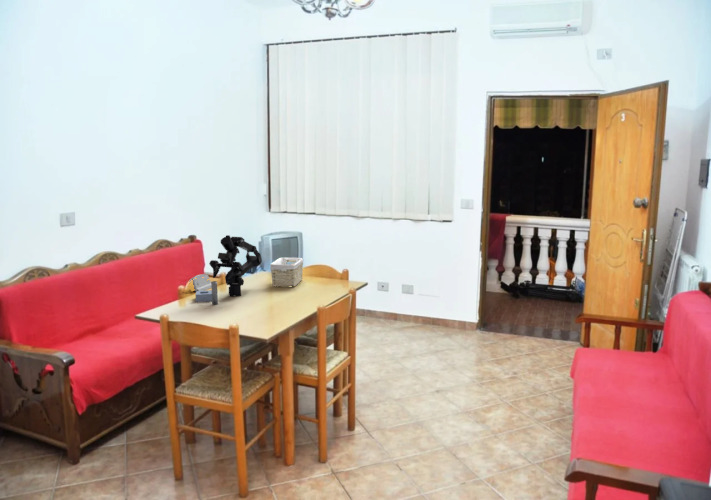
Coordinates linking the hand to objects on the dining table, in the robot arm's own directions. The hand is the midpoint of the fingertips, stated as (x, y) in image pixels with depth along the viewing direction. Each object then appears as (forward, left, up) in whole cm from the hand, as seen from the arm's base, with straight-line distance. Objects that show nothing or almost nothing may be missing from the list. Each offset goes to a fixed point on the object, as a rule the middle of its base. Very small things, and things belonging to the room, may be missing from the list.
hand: (220, 278), depth 304 cm
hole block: (+9, -6, -13) cm, 17 cm away
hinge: (+13, -33, -13) cm, 37 cm away
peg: (+3, +6, -13) cm, 15 cm away
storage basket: (-40, -37, -13) cm, 56 cm away
